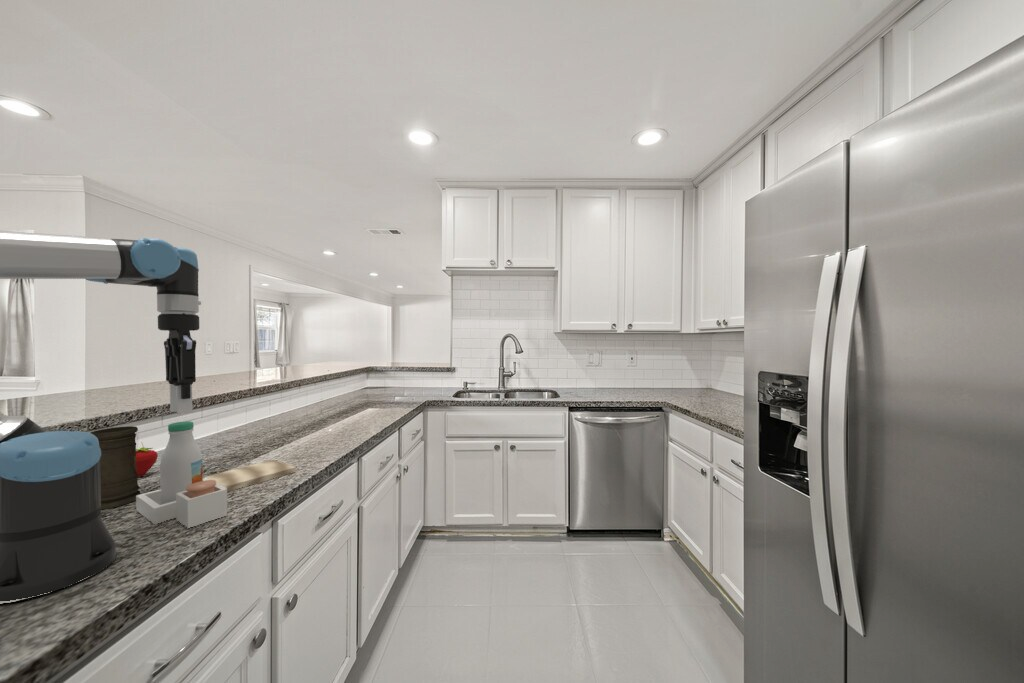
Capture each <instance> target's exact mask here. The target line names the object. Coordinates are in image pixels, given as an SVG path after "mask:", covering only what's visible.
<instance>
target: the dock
mask: <svg viewBox="0 0 1024 683" xmlns="http://www.w3.org/2000/svg"><path fill="white" fill-rule="evenodd" d="M206 480H209V479H207V478H204V477H203V481H206ZM135 502H136V504H135V505H136V510H137V511H136V512H138V513H139V514H140V515H141V516H143V517H144V518H145V517H146V518H145V519H147V520H148V521H149V522H150V521H151V523H152V524H153V525H154V524H155V525H159V524H161V522H162V523H165V522H167V521H166V520H168V521H171V520H170V519H172V520H174V519H173V518H175V519H176V522H178V521H179V522H180V523H182V524H183V525H185V526H186V527H188V528H190V527H193V526H196V525H199V524H202V523H205V522H208V521H211V520H214V519H217V518H220V519H222V518H221V517H223V516H226V517H227V516H228V492H227V488H226V487H224V486H222V485H220V484H217V483H216V485H215V486H214V492H212V493H208V494H205V495H201V496H198V497H194V498H189V492H188V491H184V492H180V493H176V501H173V502H170V503H166V504H162V505H161V488H160V489H157V490H152V491H148V492H144V493H141V494H140V495H136V500H135ZM223 518H224V517H223ZM217 520H218V519H217ZM164 521H165V522H164ZM214 521H215V520H214ZM179 522H178V523H179ZM211 522H212V521H211ZM158 523H159V524H158ZM180 523H179V524H180ZM208 523H209V522H208ZM182 524H181V525H182ZM205 524H206V523H205ZM183 525H182V526H183ZM202 525H203V524H202ZM185 526H184V527H185ZM199 526H200V525H199ZM186 527H185V528H186ZM196 527H197V526H196ZM188 528H187V529H188ZM193 528H194V527H193ZM190 529H191V528H190Z"/></svg>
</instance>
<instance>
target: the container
mask: <svg viewBox="0 0 1024 683" xmlns="http://www.w3.org/2000/svg"><path fill="white" fill-rule="evenodd" d="M138 431H139V429H138V427H137V426H133V425H132V426H131V425H129V426H116V427H108V428H103V429H98V430H94V431H91V432H90V433H91V434H93V435H95V436H96V437H97V438H98V441H99V447H100V449H101V456H100V486H101V510H107V509H112V508H113V509H114V508H117V507H121V506H125V505H127V504H130V503H133V502H136V495H140V494H142V493H141V491H139V490H140V486H139V483H138V478H139V476H137V468H136V449H137V442H136V437H137V432H138Z"/></svg>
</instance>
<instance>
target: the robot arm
mask: <svg viewBox="0 0 1024 683" xmlns="http://www.w3.org/2000/svg"><path fill="white" fill-rule="evenodd" d="M199 271H200V269H199V260H198V255H197V254H196V252H195V251H193V250H191V249H188V248H185V247H177V246H176V247H175V246H174V245H172V244H171V243H169V242H168V241H165V240H164V239H160V238H156V237H155V238H153V237H149V238H146V237H145V238H140V239H137V240H136V239H135V240H134V239H123V238H107V237H95V236H82V235H79V236H78V235H68V234H67V235H65V234H53V233H52V234H51V233H37V232H23V231H9V230H8V231H7V230H0V280H11V279H12V280H17V279H18V280H21V279H22V280H29V279H30V280H33V279H34V280H35V279H37V280H40V279H41V280H42V279H43V280H47V279H49V280H58V279H59V280H60V279H61V280H65V279H66V280H68V279H69V280H70V279H71V280H76V279H77V280H80V279H81V280H86V281H89V282H95V283H103V284H104V285H105V284H106V285H107V284H113V285H114V284H116V285H126V286H127V285H128V286H143V287H145V286H146V287H151V288H154V287H155V288H156V290H157V291H156V310H157V312H158V313H160V314H158V315H157V329H158V330H159V331H168V332H169V333H168V337H167V338H166V340H164V342H163V346H164V347H163V348H164V356H165V380H166V381H165V382H167V383H168V384H169V410H170V413H174V412H176V414H177V415H179V414H187V413H193V383H195V382H196V380H197V379H196V377H197V376H196V349H197V348H196V347H197V340H196V339H193V338H192V336H191V331H192V332H194V331H199V330H200V316H199V314H198V313H199V312H200V311H199V310H200V309H199V307H200V306H201V305H202V301H199V299H200V298H199ZM100 456H101V449H100V447H99V441H98V438H97V437H96V436H95V435H93V434H91V432H88V431H79V430H74V431H71V430H55V431H54V430H52V431H47V430H45V429H44V428H43V427H42V426H40V425H38V424H37V423H36V422H34V421H33V420H32V419H31V418H29V417H27V416H26V415H7V414H4V413H2V412H1V411H0V601H10V600H16V599H22V598H28V597H32V596H37V595H40V594H44V593H48V592H51V591H55V590H58V589H61V588H64V587H67V586H69V585H71V584H74V583H76V582H78V581H80V580H82V579H84V578H86V577H88V576H91V575H93V574H95V573H97V572H99V571H100V572H102V571H103V570H102V569H103V568H105V567H106V566H108V565H109V564H110V563H111V562H112V563H114V561H115V560H116V559H117V546H116V545H117V544H116V542H115V540H114V539H113V537H112V534H111V533H110V531H109V529H108V528H107V527H108V526H106V524H105V522H104V521H103V518H102V509H101V486H100ZM112 563H111V564H112ZM111 564H110V565H111ZM110 565H109V566H110ZM109 566H108V567H109ZM106 568H107V567H106ZM106 568H105V569H106ZM101 570H102V571H101ZM100 572H99V573H100ZM97 574H98V573H97ZM95 575H96V574H95ZM93 576H94V575H93ZM91 577H92V576H91ZM76 584H77V583H76ZM74 585H75V584H74ZM69 587H70V586H69ZM67 588H68V587H67ZM64 589H65V588H64ZM61 590H62V589H61ZM58 591H59V590H58Z"/></svg>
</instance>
